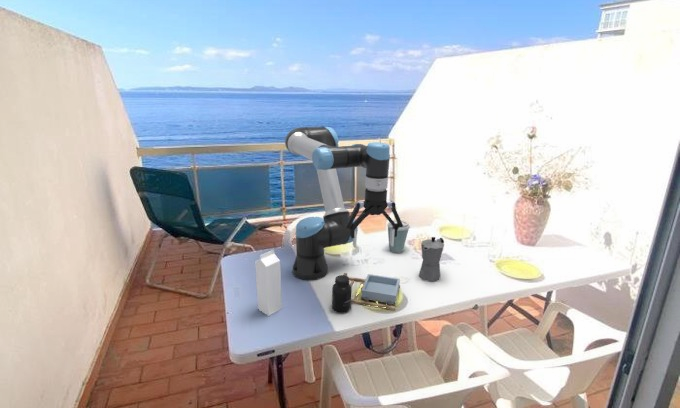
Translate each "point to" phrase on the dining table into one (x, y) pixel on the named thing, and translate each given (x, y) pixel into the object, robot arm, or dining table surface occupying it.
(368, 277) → the shallow square tray
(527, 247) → the dining table surface
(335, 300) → the supplement bottle
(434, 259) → the coffeepot
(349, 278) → the wooden rack
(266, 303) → the milk
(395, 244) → the disposable coffee cup
